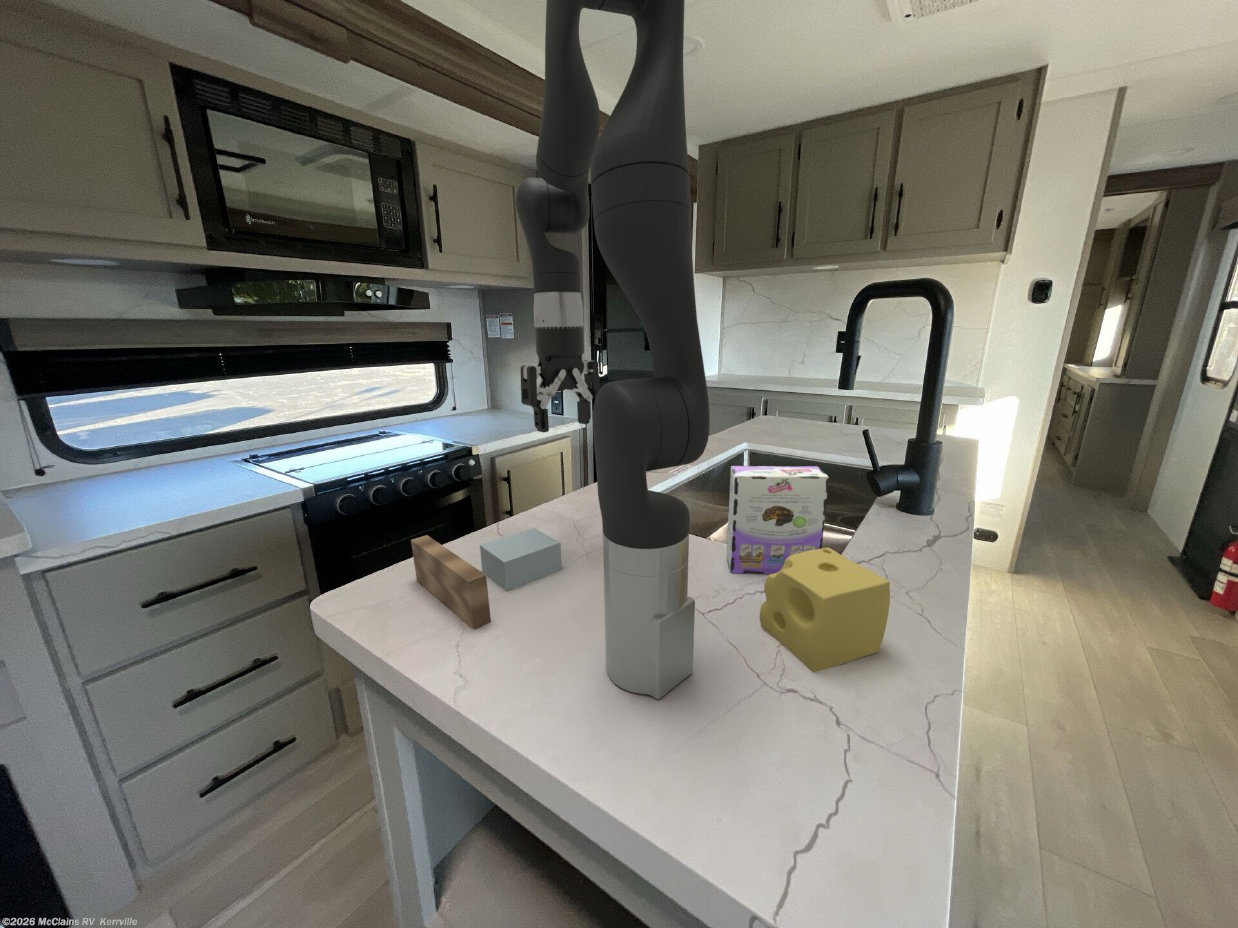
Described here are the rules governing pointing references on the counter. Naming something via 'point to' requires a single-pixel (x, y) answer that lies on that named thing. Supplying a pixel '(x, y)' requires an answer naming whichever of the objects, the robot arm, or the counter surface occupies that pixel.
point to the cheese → (826, 608)
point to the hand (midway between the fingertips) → (564, 427)
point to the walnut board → (452, 581)
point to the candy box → (774, 515)
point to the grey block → (520, 558)
